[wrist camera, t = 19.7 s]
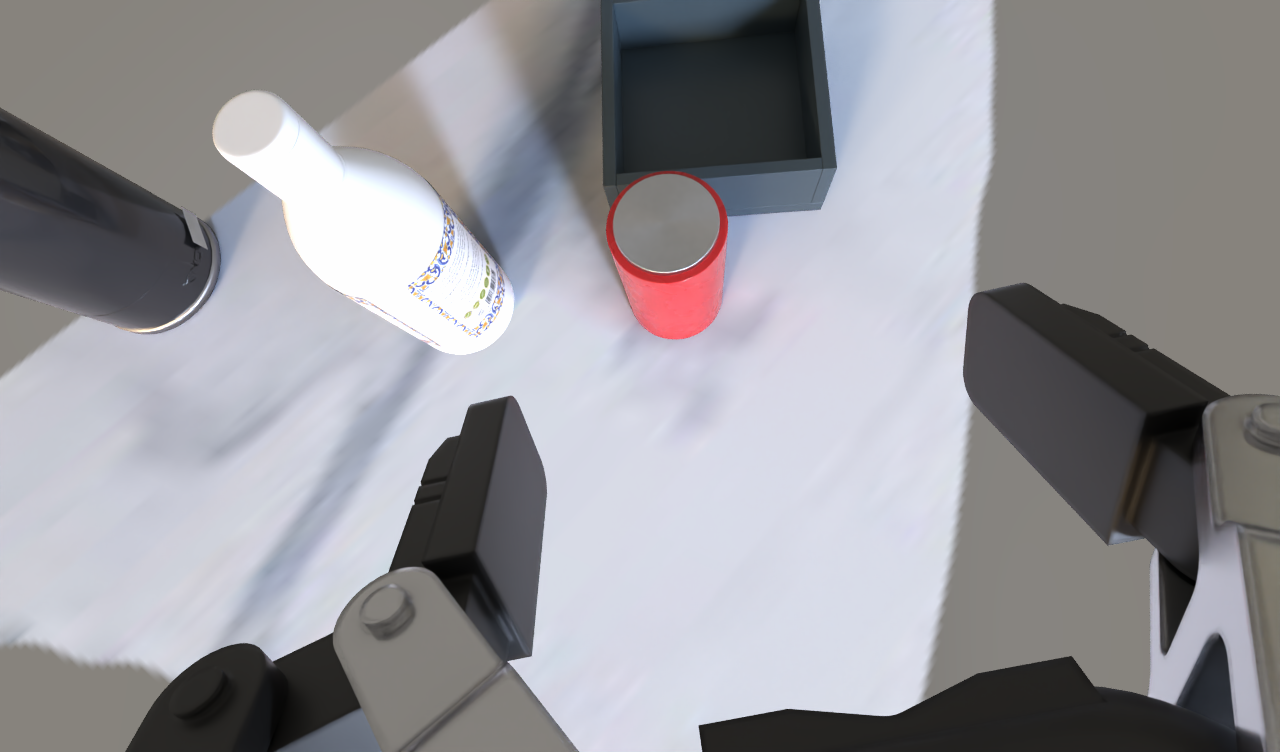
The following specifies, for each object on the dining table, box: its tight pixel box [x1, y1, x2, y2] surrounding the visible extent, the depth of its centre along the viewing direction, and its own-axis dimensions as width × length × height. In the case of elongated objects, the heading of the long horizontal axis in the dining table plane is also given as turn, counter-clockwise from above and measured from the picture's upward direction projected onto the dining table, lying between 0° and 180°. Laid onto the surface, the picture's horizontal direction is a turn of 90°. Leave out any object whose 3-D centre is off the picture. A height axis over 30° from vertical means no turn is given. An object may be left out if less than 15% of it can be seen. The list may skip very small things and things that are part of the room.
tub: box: [601, 0, 837, 216], centre depth 39 cm, size 14×14×5 cm
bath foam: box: [212, 90, 514, 354], centre depth 31 cm, size 7×7×20 cm
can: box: [606, 171, 728, 339], centre depth 34 cm, size 6×6×10 cm
